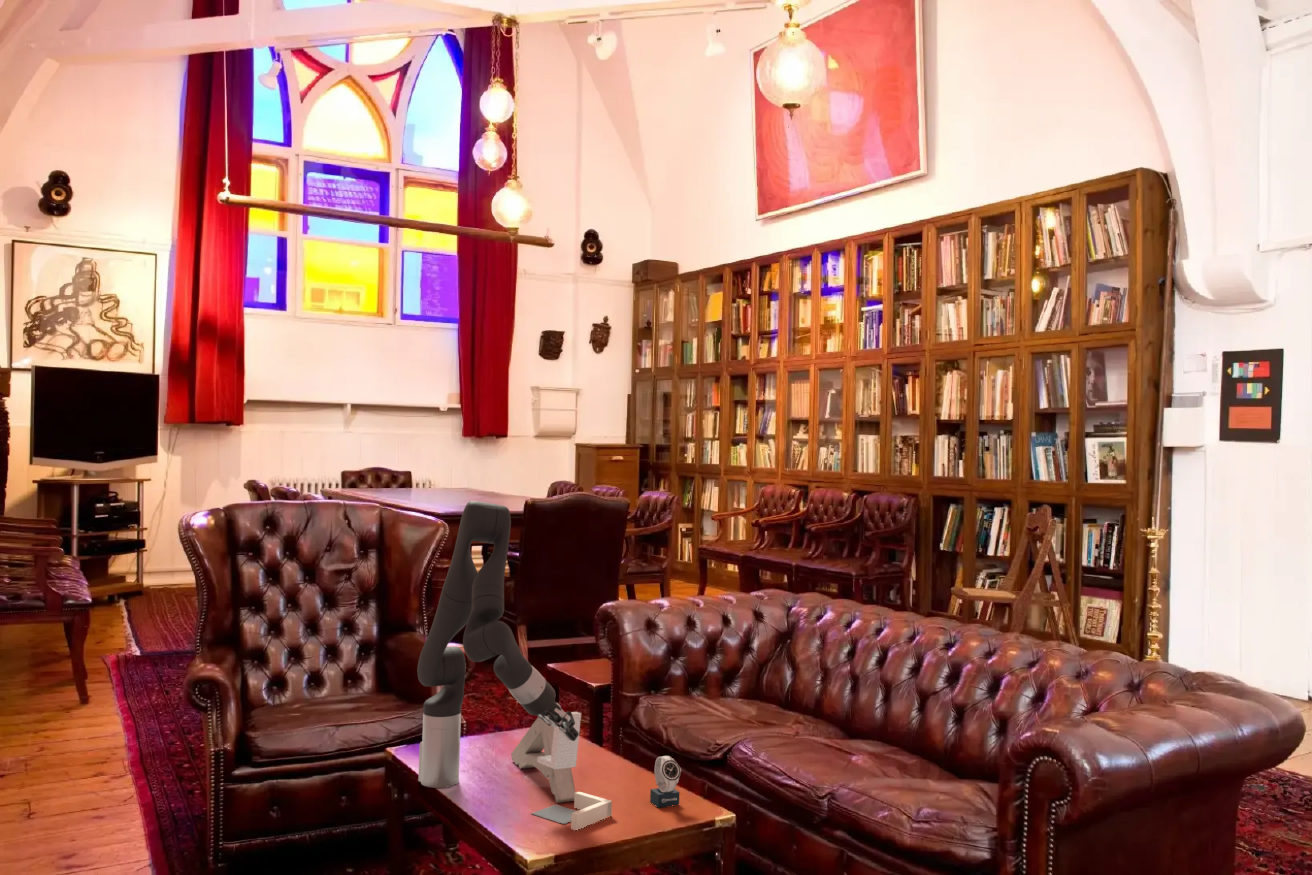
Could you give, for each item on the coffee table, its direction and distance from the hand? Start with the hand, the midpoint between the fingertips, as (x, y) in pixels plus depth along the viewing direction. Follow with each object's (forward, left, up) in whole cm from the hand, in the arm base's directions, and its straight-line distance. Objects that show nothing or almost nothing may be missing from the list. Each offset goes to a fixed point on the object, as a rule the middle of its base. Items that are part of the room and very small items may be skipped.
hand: (572, 736), depth 229 cm
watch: (+12, +20, -18) cm, 30 cm away
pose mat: (-2, -2, -18) cm, 18 cm away
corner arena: (+3, -1, -18) cm, 18 cm away
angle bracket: (-3, -2, -7) cm, 7 cm away
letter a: (-22, +14, -18) cm, 31 cm away
